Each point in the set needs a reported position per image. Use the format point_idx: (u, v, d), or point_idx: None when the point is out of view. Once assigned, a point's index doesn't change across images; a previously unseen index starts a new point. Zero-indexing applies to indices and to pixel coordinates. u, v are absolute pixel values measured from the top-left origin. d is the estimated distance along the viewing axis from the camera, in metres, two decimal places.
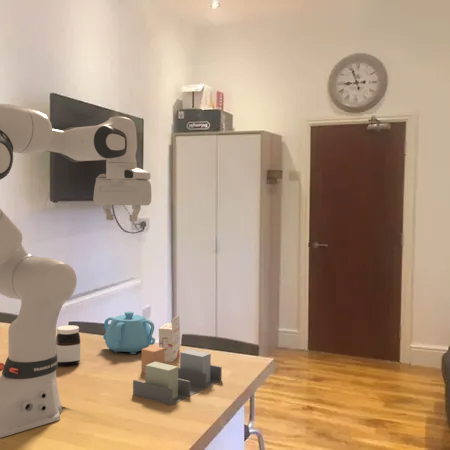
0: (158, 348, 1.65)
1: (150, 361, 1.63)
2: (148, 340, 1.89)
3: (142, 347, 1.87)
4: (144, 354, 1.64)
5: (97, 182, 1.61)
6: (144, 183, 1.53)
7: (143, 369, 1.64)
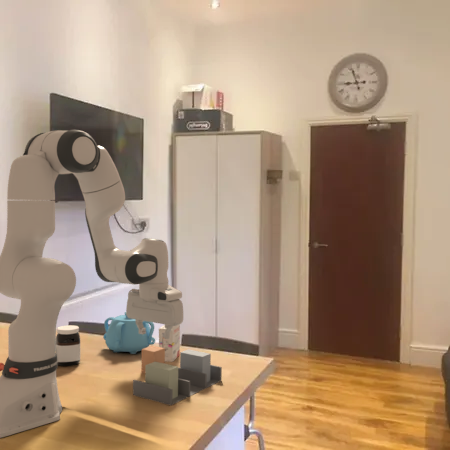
0: (158, 348, 1.65)
1: (150, 361, 1.63)
2: (148, 340, 1.89)
3: (142, 347, 1.87)
4: (144, 354, 1.64)
5: (130, 297, 1.68)
6: (177, 305, 1.59)
7: (143, 369, 1.64)
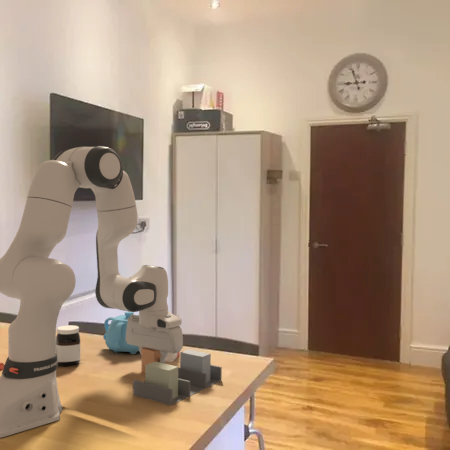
0: None
1: (150, 361, 1.63)
2: None
3: None
4: (144, 354, 1.64)
5: (129, 323, 1.68)
6: (176, 332, 1.59)
7: (143, 369, 1.64)
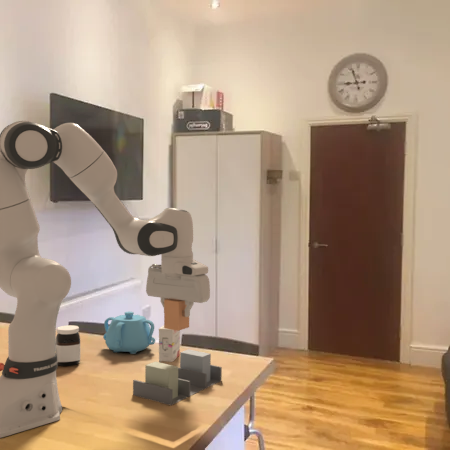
0: None
1: (174, 312, 1.49)
2: (148, 340, 1.89)
3: (142, 347, 1.87)
4: (167, 305, 1.50)
5: (150, 273, 1.54)
6: (203, 280, 1.46)
7: (166, 321, 1.51)
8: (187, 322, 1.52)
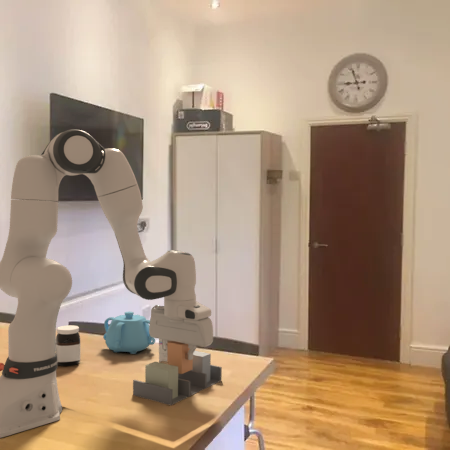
0: None
1: (177, 355, 1.48)
2: (148, 340, 1.89)
3: (142, 347, 1.87)
4: (170, 348, 1.50)
5: (153, 315, 1.53)
6: (206, 324, 1.45)
7: (169, 364, 1.50)
8: (190, 364, 1.51)
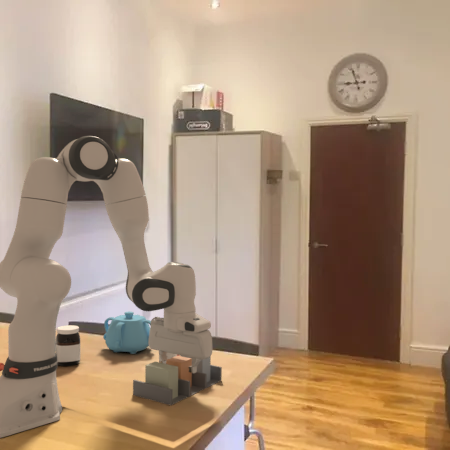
0: (185, 359, 1.51)
1: None
2: (148, 340, 1.89)
3: (142, 347, 1.87)
4: None
5: (153, 326, 1.53)
6: (205, 336, 1.45)
7: None
8: None
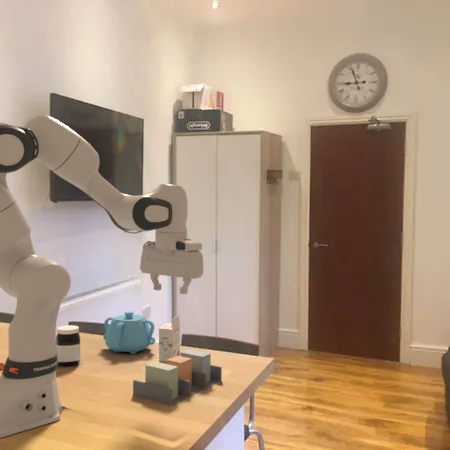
0: (185, 359, 1.51)
1: None
2: (148, 340, 1.89)
3: (142, 347, 1.87)
4: None
5: (145, 250, 1.54)
6: (196, 256, 1.45)
7: None
8: None
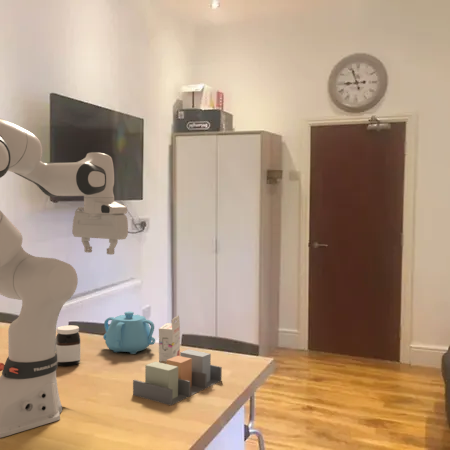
0: (185, 359, 1.51)
1: None
2: (148, 340, 1.89)
3: (142, 347, 1.87)
4: None
5: (76, 215, 1.65)
6: (120, 218, 1.57)
7: None
8: None
